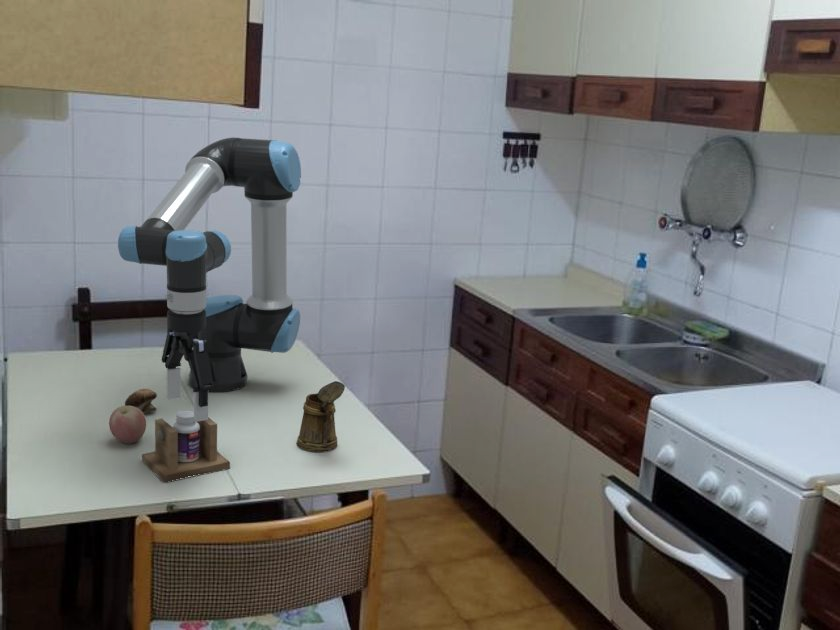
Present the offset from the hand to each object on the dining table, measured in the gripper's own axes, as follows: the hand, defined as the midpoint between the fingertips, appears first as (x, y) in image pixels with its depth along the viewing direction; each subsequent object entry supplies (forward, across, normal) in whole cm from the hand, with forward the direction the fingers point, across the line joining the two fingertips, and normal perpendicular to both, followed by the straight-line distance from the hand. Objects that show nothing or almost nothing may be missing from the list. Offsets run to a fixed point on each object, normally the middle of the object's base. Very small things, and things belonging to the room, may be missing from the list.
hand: (187, 409), depth 182 cm
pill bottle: (+11, 0, 0) cm, 11 cm away
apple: (+12, -16, -6) cm, 22 cm away
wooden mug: (+13, +6, +28) cm, 32 cm away
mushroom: (+13, -32, +2) cm, 35 cm away
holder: (+12, 0, 0) cm, 12 cm away
